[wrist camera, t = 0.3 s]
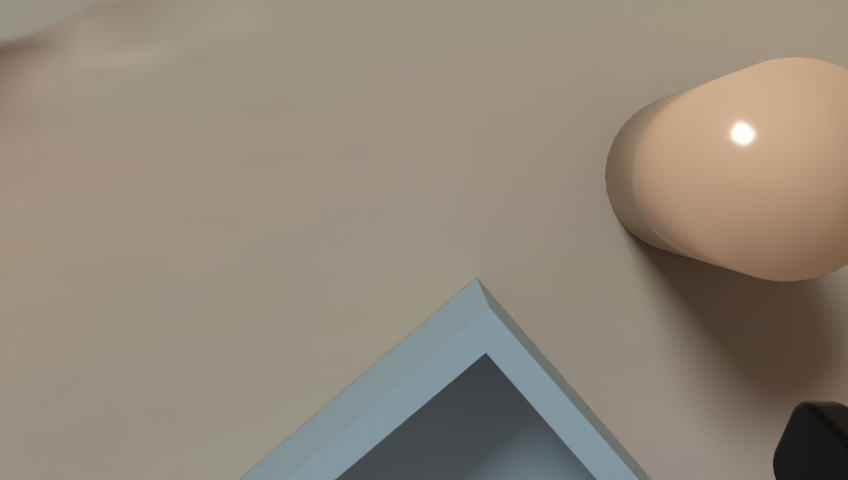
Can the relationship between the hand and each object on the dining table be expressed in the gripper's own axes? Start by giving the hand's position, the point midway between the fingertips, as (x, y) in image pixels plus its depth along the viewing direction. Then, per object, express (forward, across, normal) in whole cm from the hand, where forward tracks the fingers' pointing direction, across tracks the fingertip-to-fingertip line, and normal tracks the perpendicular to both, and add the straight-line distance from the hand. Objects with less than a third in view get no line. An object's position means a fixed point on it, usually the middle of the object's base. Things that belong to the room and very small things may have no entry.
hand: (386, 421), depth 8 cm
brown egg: (+15, -10, +4) cm, 18 cm away
